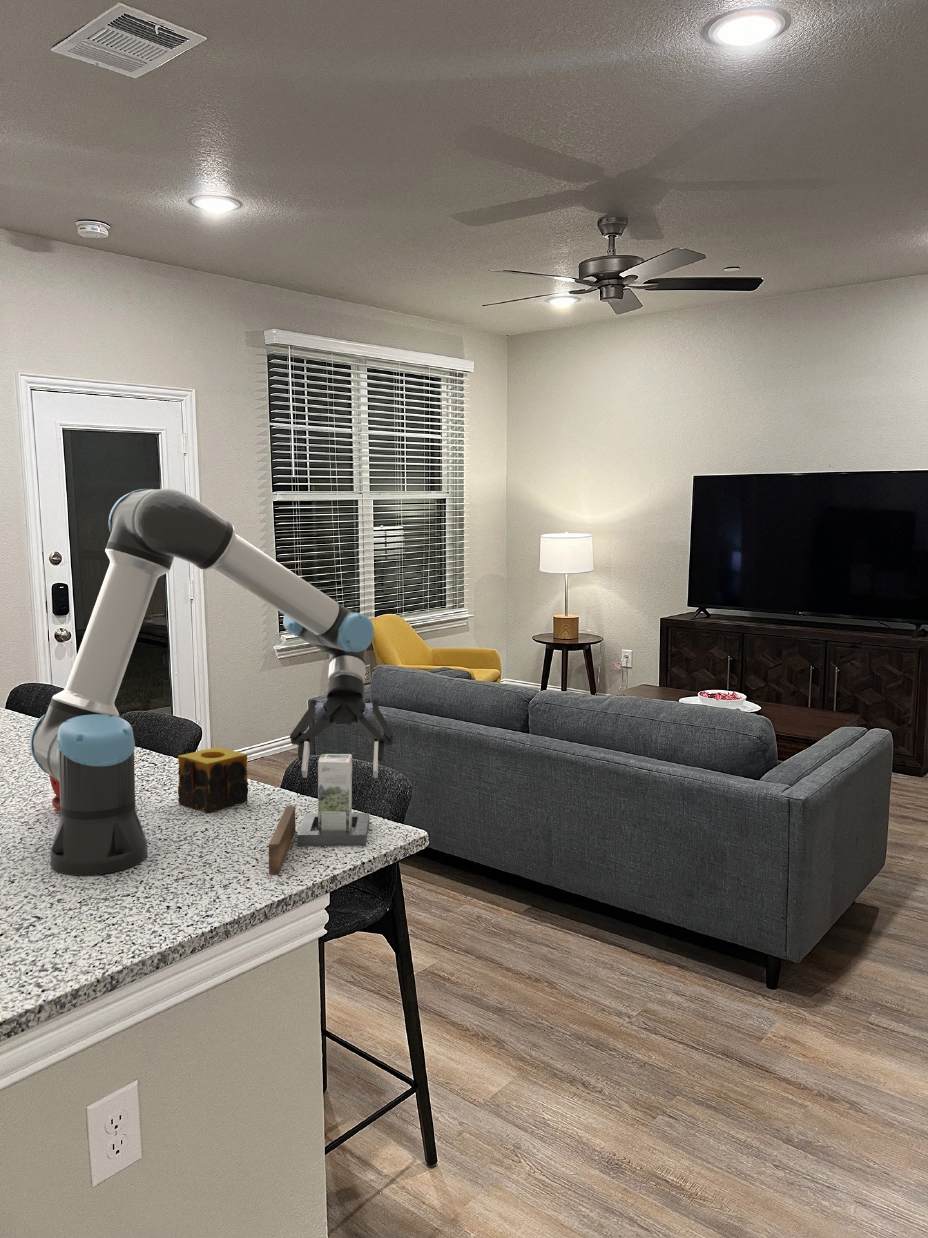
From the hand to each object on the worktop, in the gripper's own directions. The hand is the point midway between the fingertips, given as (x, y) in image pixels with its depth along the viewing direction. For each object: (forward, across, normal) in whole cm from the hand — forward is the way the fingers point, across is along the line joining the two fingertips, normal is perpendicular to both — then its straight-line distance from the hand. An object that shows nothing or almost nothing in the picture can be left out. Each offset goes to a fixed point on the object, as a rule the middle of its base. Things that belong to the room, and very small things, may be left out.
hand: (339, 774), depth 180 cm
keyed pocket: (+13, 0, +2) cm, 13 cm away
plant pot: (+2, +50, -10) cm, 51 cm away
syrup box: (+13, 0, +1) cm, 13 cm away
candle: (0, +26, -12) cm, 29 cm away
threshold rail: (+20, +8, +8) cm, 23 cm away
